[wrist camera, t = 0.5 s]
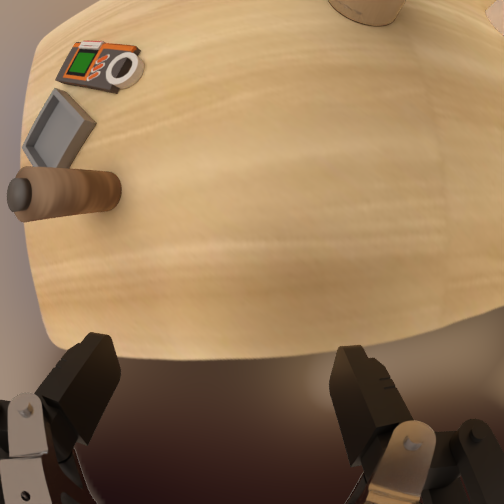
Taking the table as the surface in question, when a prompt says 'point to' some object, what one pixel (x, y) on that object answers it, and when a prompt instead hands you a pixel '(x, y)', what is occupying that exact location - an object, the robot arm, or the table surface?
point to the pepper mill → (61, 192)
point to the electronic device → (101, 66)
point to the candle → (496, 15)
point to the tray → (57, 132)
